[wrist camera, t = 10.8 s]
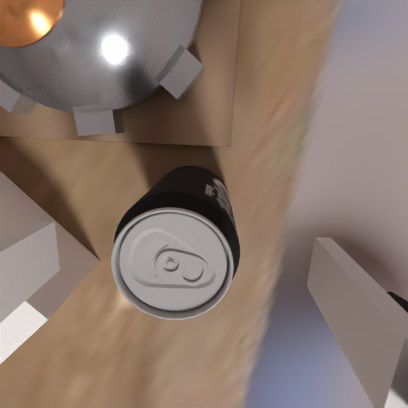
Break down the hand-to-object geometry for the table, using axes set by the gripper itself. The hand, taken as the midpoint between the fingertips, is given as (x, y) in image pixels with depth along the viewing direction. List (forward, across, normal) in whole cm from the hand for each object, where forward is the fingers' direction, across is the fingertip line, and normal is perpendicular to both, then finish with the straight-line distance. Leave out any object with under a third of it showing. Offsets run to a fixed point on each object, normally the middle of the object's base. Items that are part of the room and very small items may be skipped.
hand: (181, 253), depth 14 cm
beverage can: (+11, 0, 0) cm, 11 cm away
